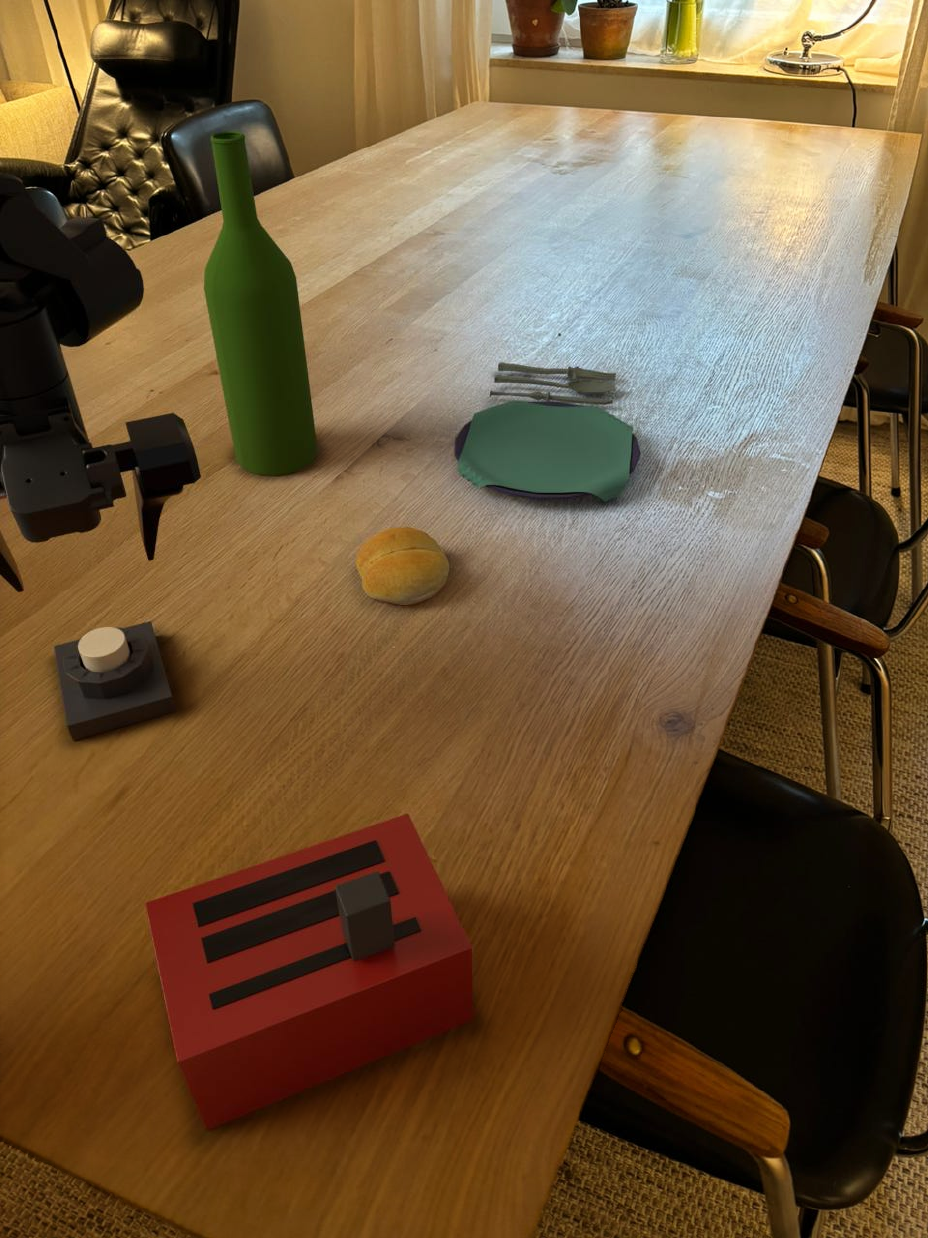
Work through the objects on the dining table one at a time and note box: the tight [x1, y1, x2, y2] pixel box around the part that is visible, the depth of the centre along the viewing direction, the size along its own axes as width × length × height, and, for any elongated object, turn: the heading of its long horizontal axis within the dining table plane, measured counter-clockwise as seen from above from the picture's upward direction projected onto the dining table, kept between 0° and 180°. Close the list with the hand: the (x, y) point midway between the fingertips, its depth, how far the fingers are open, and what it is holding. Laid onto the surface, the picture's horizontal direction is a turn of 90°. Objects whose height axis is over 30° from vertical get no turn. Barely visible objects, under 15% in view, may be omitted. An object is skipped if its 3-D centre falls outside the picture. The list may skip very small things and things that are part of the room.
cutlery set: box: [454, 361, 642, 503], centre depth 110 cm, size 20×30×2 cm, turn 170°
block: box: [53, 620, 177, 742], centre depth 80 cm, size 8×10×4 cm
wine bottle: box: [203, 130, 318, 477], centre depth 98 cm, size 9×9×32 cm
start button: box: [78, 626, 130, 673], centre depth 79 cm, size 4×4×2 cm
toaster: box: [144, 813, 474, 1131], centre depth 58 cm, size 16×10×8 cm, turn 113°
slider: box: [335, 872, 395, 962], centre depth 53 cm, size 2×2×4 cm
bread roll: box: [355, 526, 450, 606], centre depth 90 cm, size 8×9×4 cm
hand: (86, 572), depth 73 cm, fingers open, 9 cm apart
